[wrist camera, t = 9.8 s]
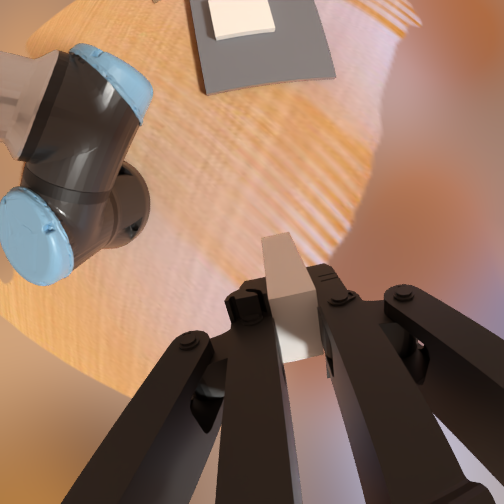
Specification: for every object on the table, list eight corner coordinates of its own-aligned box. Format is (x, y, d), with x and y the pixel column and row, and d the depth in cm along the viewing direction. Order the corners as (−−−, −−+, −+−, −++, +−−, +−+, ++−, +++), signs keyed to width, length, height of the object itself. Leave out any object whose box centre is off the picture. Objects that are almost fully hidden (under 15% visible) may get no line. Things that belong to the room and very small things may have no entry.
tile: (274, 32, 33) (216, 41, 33) (264, -4, 30) (209, 5, 31) (275, 27, 31) (215, 37, 32) (264, -9, 28) (208, 0, 29)
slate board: (207, 95, 37) (206, 94, 36) (187, -21, 29) (185, -24, 28) (334, 79, 36) (336, 77, 35) (298, -35, 28) (298, -38, 27)
